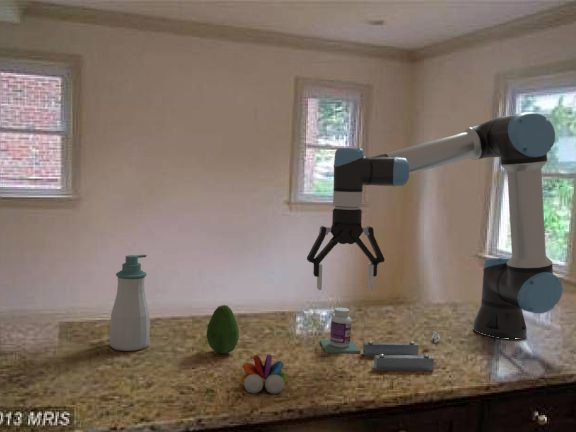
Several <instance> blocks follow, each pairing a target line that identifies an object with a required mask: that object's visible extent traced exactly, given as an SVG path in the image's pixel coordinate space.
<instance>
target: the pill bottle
mask: <svg viewBox="0 0 576 432" xmlns="http://www.w3.org/2000/svg"><path fill="white" fill-rule="evenodd" d="M333 310H334V311H333V314H334V315H333V316H332V317H331V318H330V319H331V320H330V333H329V335H330V336H329V340H330V344H331V345H332V346H334V347H339V348H345V347H348V346H349V345H350V340H351V335H352V318H351V317H350V309H349V308H346V307H336V308H335V307H334V309H333Z"/></svg>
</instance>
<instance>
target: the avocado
mask: <svg viewBox="0 0 576 432" xmlns="http://www.w3.org/2000/svg"><path fill="white" fill-rule="evenodd" d="M239 331H240V330H239V325H238V322H237V320H236V318H235V314H234V312H233V310H232V308H231V307H229V305H225V304H222V305H219V306H217V308H216V309H215V310H214V311H213V313H212V316H211V318H210V320H209V321H208V324H207V328H206V340H207V343H208V345H209V347H210V348H211V349H212V350H213V351H214V352H215V353H218V354H223V355H225V354H229V353H231V352H233V351H234V350H235V348H236V346H237V345H238V341H239V339H240V332H239Z"/></svg>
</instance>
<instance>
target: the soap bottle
mask: <svg viewBox="0 0 576 432" xmlns="http://www.w3.org/2000/svg"><path fill="white" fill-rule="evenodd" d="M139 258H140V259H141V258H147V254H137V255H134V254H132V255H131V254H130V255H125V262H124V263H122V264H121V270H119V271H117V272H116V273H115V277H117V290H116V294H115V300H114V302H113V307H112V310H111V313H110V323H109V339H108V340H109V341H108V342H109V346H110V347H111V348H112V349H114V350H115V351H122V352H134V351H140V350H143V349H146V347H148V345H150V337H151V336H150V335H151V334H150V333H151V331H150V330H151V328H150V327H151V323H150V309H149V305H148V301H147V296H146V291H145V290H146V289H145V279H146V277H147V272H146V271H144V270H142V268H141V267H142V264H141V263H140V262H139Z"/></svg>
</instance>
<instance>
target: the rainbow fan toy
mask: <svg viewBox="0 0 576 432" xmlns="http://www.w3.org/2000/svg"><path fill="white" fill-rule="evenodd" d="M272 359H273V356H272V355H271V354H266V356H265V361H264V364H263V361H262V359H261V357H260V356H259V355H258V354H255V355H254V356H253V363H254V364H253V363H250V362H245V363H243V364H242V370H244V372H245V373H244V374H243V375H241V377H240V382H241V384H242V385H243V386H244V389H245V390H246V392H247V393H249V394H257V393H259V392H261V391H262V390H263V387H265V390H266V391H267V392H268V393H270V394H272V395H277V394H279V393H281V392H282V391H283V389H284V388H285V383H287V381H288V377H287V373H284V372H283V370H282V369H283V368H284V365H285V364H284V362H283V361H281V360H279V361H276V362H275V363H273V364H272V361H273V360H272ZM263 379H264V380H263Z"/></svg>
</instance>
